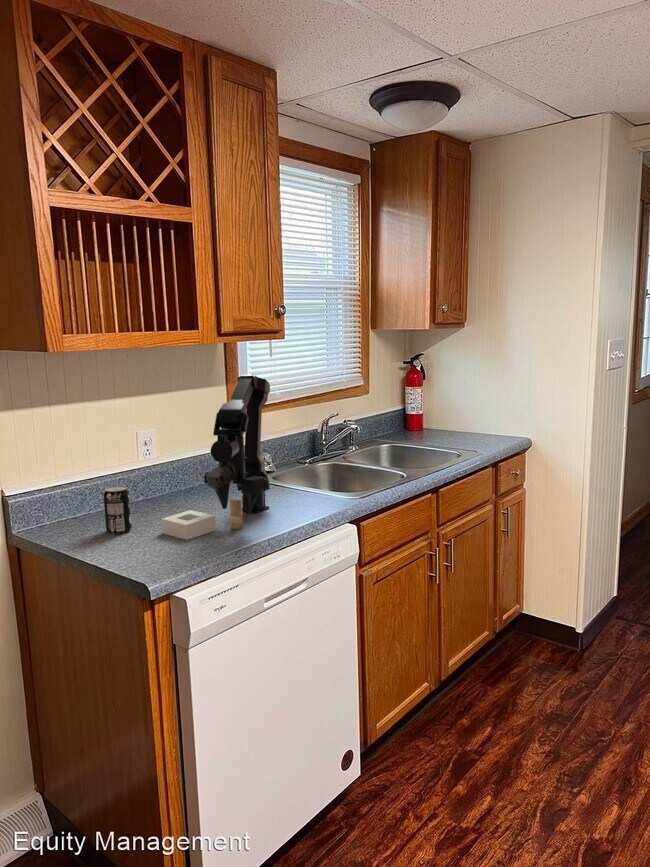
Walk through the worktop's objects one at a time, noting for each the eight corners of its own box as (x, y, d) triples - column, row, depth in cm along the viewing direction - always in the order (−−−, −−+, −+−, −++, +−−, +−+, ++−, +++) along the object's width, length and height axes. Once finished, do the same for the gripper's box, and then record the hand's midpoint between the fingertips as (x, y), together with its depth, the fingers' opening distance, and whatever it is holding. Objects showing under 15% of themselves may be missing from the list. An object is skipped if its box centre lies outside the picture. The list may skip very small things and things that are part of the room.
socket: (191, 523, 186) (190, 510, 185) (216, 530, 180) (215, 515, 179) (162, 533, 178) (161, 518, 178) (187, 539, 172) (186, 525, 171)
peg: (237, 525, 183) (235, 497, 182) (245, 527, 181) (244, 499, 180) (228, 528, 181) (227, 500, 180) (237, 530, 179) (235, 501, 178)
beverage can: (122, 526, 186) (119, 484, 184) (136, 530, 181) (133, 487, 179) (101, 532, 181) (98, 489, 179) (115, 536, 176) (112, 492, 174)
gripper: (187, 456, 177) (190, 512, 180) (236, 463, 166) (239, 524, 168) (218, 449, 186) (221, 503, 189) (267, 456, 174) (269, 513, 177)
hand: (236, 511), depth 180 cm, fingers open, 9 cm apart
